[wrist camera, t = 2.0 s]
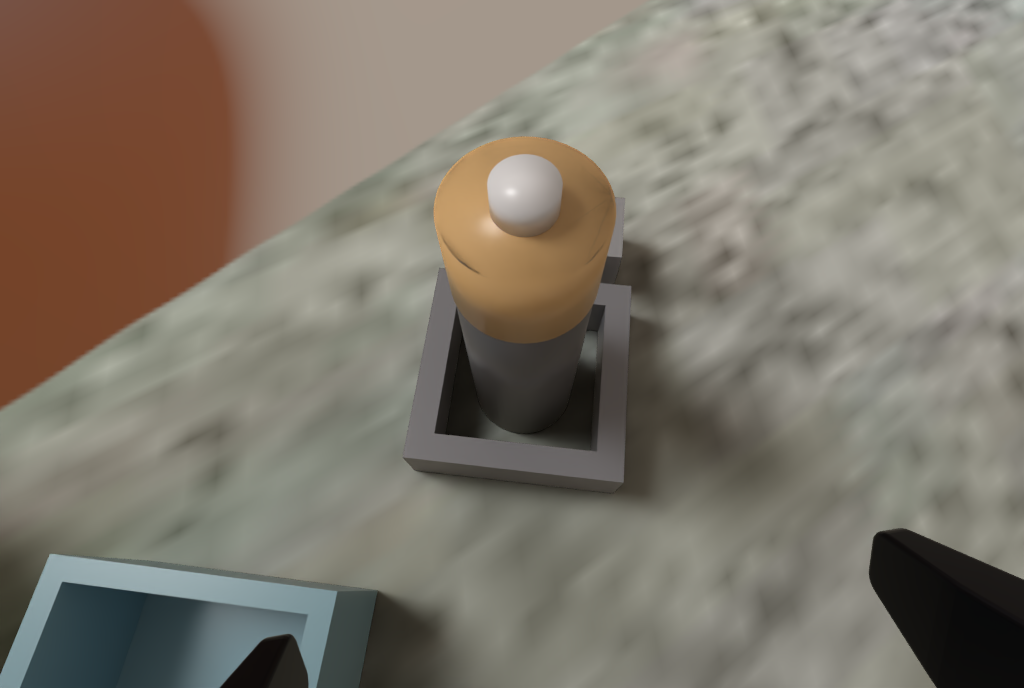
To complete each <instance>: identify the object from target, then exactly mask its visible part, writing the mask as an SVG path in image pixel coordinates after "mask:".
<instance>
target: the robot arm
mask: <svg viewBox="0 0 1024 688" xmlns="http://www.w3.org/2000/svg"><path fill="white" fill-rule="evenodd" d="M869 578H870V582H871V584H872V587H873V589H874V590H875V592H876V594H877V595H878V597H879V598H880V600H881V602H882V603H883V605H884V606H885V608H886V610H887V611H888V613H889V614H890V616H891V617H892V619H893V621H894V622H895V624H896V625H897V627H898V628H899V630H900V632H901V633H902V635H903V636H904V638H905V639H906V641H907V643H908V644H909V646H910V647H911V649H912V651H913V652H914V654H915V655H916V657H917V658H918V660H919V662H920V663H921V665H922V666H923V668H924V669H925V671H926V672H927V674H928V675H929V677H930V678H931V680H932V681H933V683H934V684H935V686H936V687H937V688H1024V580H1023V579H1021V578H1019V577H1016V576H1014V575H1012V574H1009V573H1007V572H1005V571H1003V570H1000V569H998V568H996V567H993V566H991V565H989V564H986V563H984V562H982V561H979V560H977V559H975V558H972V557H970V556H968V555H966V554H963V553H961V552H959V551H956V550H954V549H952V548H949V547H947V546H945V545H942V544H940V543H938V542H936V541H933V540H931V539H929V538H926V537H924V536H922V535H919V534H917V533H915V532H912V531H910V530H907V529H903V528H898V529H892V530H886V531H880V532H878V533H877V534H876V535H875V536H874V538H873V544H872V551H871V559H870V566H869ZM308 687H309V681H308V673H307V669H306V667H305V664H304V661H303V658H302V655H301V652H300V650H299V647H298V644H297V641H296V639H295V637H294V636H293V635H291V634H283V635H277V636H272V637H267V638H264V639H263V640H262V641H260V642H259V643H258V644H257V646H256V647H255V648H254V649H253V650H252V651H251V652H250V654H249V655H248V656H247V657H246V658H245V659H244V660H243V661H242V663H241V664H240V665H239V666H238V667H237V668H236V669H235V670H234V672H233V673H232V674H231V675H230V676H229V677H228V678H227V679H226V681H225V682H224V683H223V684H222V685H221V686H220V687H219V688H308Z"/></svg>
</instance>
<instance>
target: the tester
mask: <svg viewBox="0 0 1024 688" xmlns="http://www.w3.org/2000/svg"><path fill="white" fill-rule="evenodd" d="M615 202H616V221H615V227H614V231H613V235H612V239H611V242H610V246H609V250H608V254H607V258H606V262H605V266H604V270H603V274H602V278H601V282H600V286H599V289H598V293H597V296H596V299H595V301H594V304H593V306H592V310H591V314H590V318H589V322H588V326H587V330H593V331H598V339H597V355H596V370H595V386H594V402H593V418H592V433H591V449H590V451H586V450H578V449H569V448H560V447H551V446H542V445H533V444H524V443H515V442H506V441H497V440H488V439H480V438H471V437H462V436H453V435H445V433H446V427H447V421H448V415H449V409H450V404H451V398H452V392H453V386H454V380H455V374H456V368H457V362H458V356H459V350H460V344H461V338H462V328H461V324H460V319H459V315H458V311H457V307H456V304H455V302H454V299H453V296H452V293H451V289H450V285H449V281H448V277H447V273H446V269H445V268H439V272H438V277H437V282H436V287H435V292H434V298H433V303H432V308H431V313H430V318H429V323H428V328H427V334H426V339H425V344H424V349H423V354H422V359H421V364H420V370H419V375H418V380H417V385H416V390H415V395H414V400H413V406H412V411H411V416H410V421H409V426H408V431H407V437H406V442H405V447H404V452H403V458H404V459H405V460H406V462H407V463H408V464H409V465H410V466H411V467H412V468H413V469H414V470H416V471H425V472H434V473H442V474H451V475H459V476H468V477H476V478H485V479H494V480H502V481H511V482H519V483H528V484H537V485H545V486H554V487H562V488H571V489H579V490H588V491H597V492H605V493H614V492H615V491H616V490H617V489H618V488H619V487H620V486H621V485H622V484H623V483H624V460H625V434H626V409H627V383H628V358H629V333H630V307H631V286H626V285H616V284H614V283H615V279H616V276H617V273H618V269H619V266H620V263H621V259H622V248H623V227H624V206H625V198H618V197H615Z"/></svg>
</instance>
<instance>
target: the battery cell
mask: <svg viewBox="0 0 1024 688" xmlns="http://www.w3.org/2000/svg"><path fill="white" fill-rule="evenodd" d="M615 221H616V202H615V197H614V193H613V190H612V188H611V185H610V183H609V181H608V179H607V178H606V176H605V175H604V173H603V172H602V171H601V169H600V168H599V167H598V166H597V165H596V164H595V163H594V162H593V161H592V160H591V159H589V158H588V157H587V156H586V155H584V154H583V153H581V152H580V151H578V150H576V149H574V148H572V147H570V146H568V145H566V144H563V143H560V142H558V141H554V140H550V139H546V138H538V137H511V138H506V139H500V140H497V141H493V142H490V143H487V144H485V145H482V146H480V147H478V148H476V149H474V150H473V151H471V152H469V153H468V154H466V155H465V156H464V157H462V158H461V159H460V160H459V161H458V162H456V163H455V164H454V165H453V166H452V168H451V169H450V170H449V171H448V172H447V174H446V175H445V177H444V178H443V180H442V182H441V184H440V186H439V188H438V191H437V194H436V198H435V203H434V222H435V227H436V231H437V235H438V240H439V244H440V248H441V252H442V256H443V260H444V264H445V269H446V273H447V277H448V281H449V285H450V289H451V293H452V296H453V299H454V302H455V304H456V307H457V311H458V315H459V319H460V324H461V328H462V332H463V336H464V341H465V345H466V349H467V353H468V358H469V362H470V366H471V371H472V375H473V379H474V383H475V388H476V392H477V396H478V400H479V403H480V406H481V408H482V410H483V411H484V413H485V414H486V416H487V417H488V418H489V419H490V420H491V421H492V422H493V423H494V424H496V425H497V426H499V427H501V428H503V429H505V430H507V431H511V432H515V433H533V432H537V431H540V430H543V429H545V428H547V427H549V426H550V425H552V424H553V423H554V422H556V421H557V420H558V419H559V418H560V416H561V415H562V414H563V412H564V411H565V409H566V407H567V405H568V402H569V398H570V394H571V390H572V386H573V382H574V378H575V374H576V370H577V366H578V362H579V358H580V354H581V350H582V346H583V342H584V338H585V334H586V330H587V326H588V322H589V318H590V314H591V310H592V306H593V304H594V301H595V299H596V296H597V293H598V289H599V286H600V282H601V278H602V274H603V270H604V266H605V262H606V258H607V254H608V250H609V246H610V242H611V239H612V235H613V231H614V227H615Z"/></svg>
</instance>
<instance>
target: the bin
mask: <svg viewBox="0 0 1024 688" xmlns="http://www.w3.org/2000/svg"><path fill="white" fill-rule="evenodd" d="M377 591H378V590H370V589H362V588H355V587H347V586H339V585H332V584H324V583H316V582H309V581H301V580H293V579H286V578H278V577H270V576H263V575H255V574H247V573H240V572H232V571H224V570H217V569H209V568H201V567H194V566H186V565H178V564H171V563H163V562H155V561H145V560H132V559H118V558H104V557H90V556H76V555H62V554H50V555H49V558H48V560H47V563H46V565H45V567H44V570H43V572H42V575H41V577H40V580H39V582H38V584H37V587H36V589H35V592H34V594H33V596H32V599H31V601H30V604H29V606H28V609H27V611H26V613H25V616H24V618H23V621H22V623H21V626H20V628H19V630H18V633H17V635H16V638H15V640H14V643H13V645H12V647H11V650H10V652H9V655H8V657H7V660H6V662H5V664H4V667H3V669H2V672H1V674H0V688H219V687H220V686H221V685H222V684H223V683H224V682H225V681H226V679H227V678H228V677H229V676H230V675H231V674H232V673H233V672H234V670H235V669H236V668H237V667H238V666H239V665H240V664H241V663H242V661H243V660H244V659H245V658H246V657H247V656H248V655H249V654H250V652H251V651H252V650H253V649H254V648H255V647H256V646H257V644H258V643H259V642H260V641H262V640H263V639H264V638H267V637H272V636H277V635H283V634H291V635H293V636H294V637H295V639H296V641H297V644H298V647H299V650H300V652H301V655H302V658H303V661H304V664H305V667H306V669H307V673H308V681H309V687H308V688H359V684H360V679H361V673H362V668H363V663H364V658H365V653H366V648H367V643H368V637H369V632H370V627H371V622H372V617H373V612H374V606H375V601H376V596H377Z"/></svg>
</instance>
